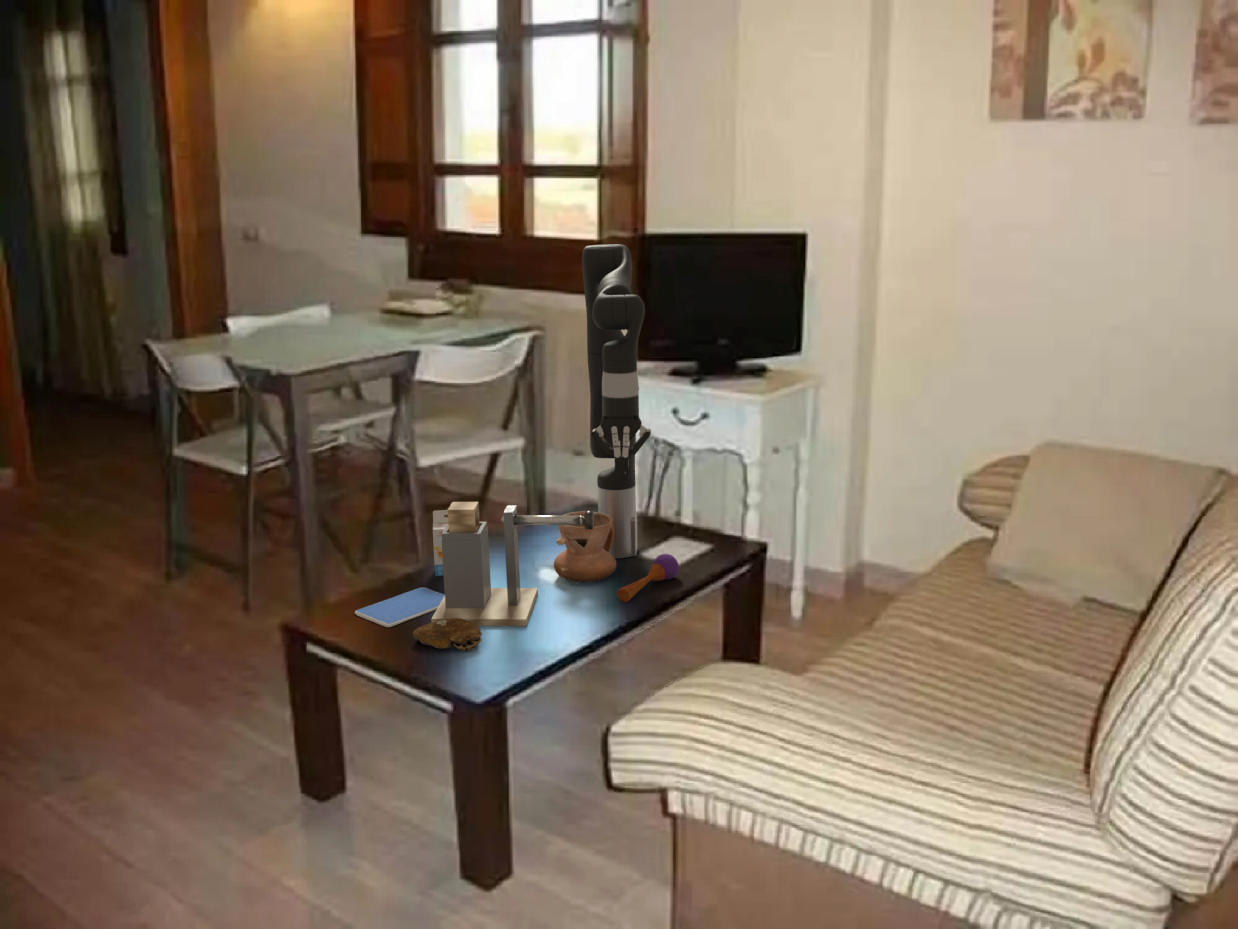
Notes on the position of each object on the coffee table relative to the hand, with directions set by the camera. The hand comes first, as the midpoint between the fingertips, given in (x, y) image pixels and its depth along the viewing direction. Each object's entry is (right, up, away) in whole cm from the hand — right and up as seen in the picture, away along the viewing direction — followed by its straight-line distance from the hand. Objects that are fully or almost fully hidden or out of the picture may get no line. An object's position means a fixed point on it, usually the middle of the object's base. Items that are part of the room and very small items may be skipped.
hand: (622, 473), depth 249 cm
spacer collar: (-34, -13, +6) cm, 37 cm away
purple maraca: (+6, -26, +20) cm, 33 cm away
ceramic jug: (-8, -24, +28) cm, 38 cm away
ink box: (-40, -24, +32) cm, 56 cm away
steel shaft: (-16, -12, +4) cm, 20 cm away
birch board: (-29, -30, +9) cm, 43 cm away
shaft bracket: (-23, -28, +9) cm, 37 cm away
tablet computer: (-47, -30, +11) cm, 57 cm away
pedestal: (-33, -28, +10) cm, 44 cm away
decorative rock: (-34, -35, -7) cm, 49 cm away
